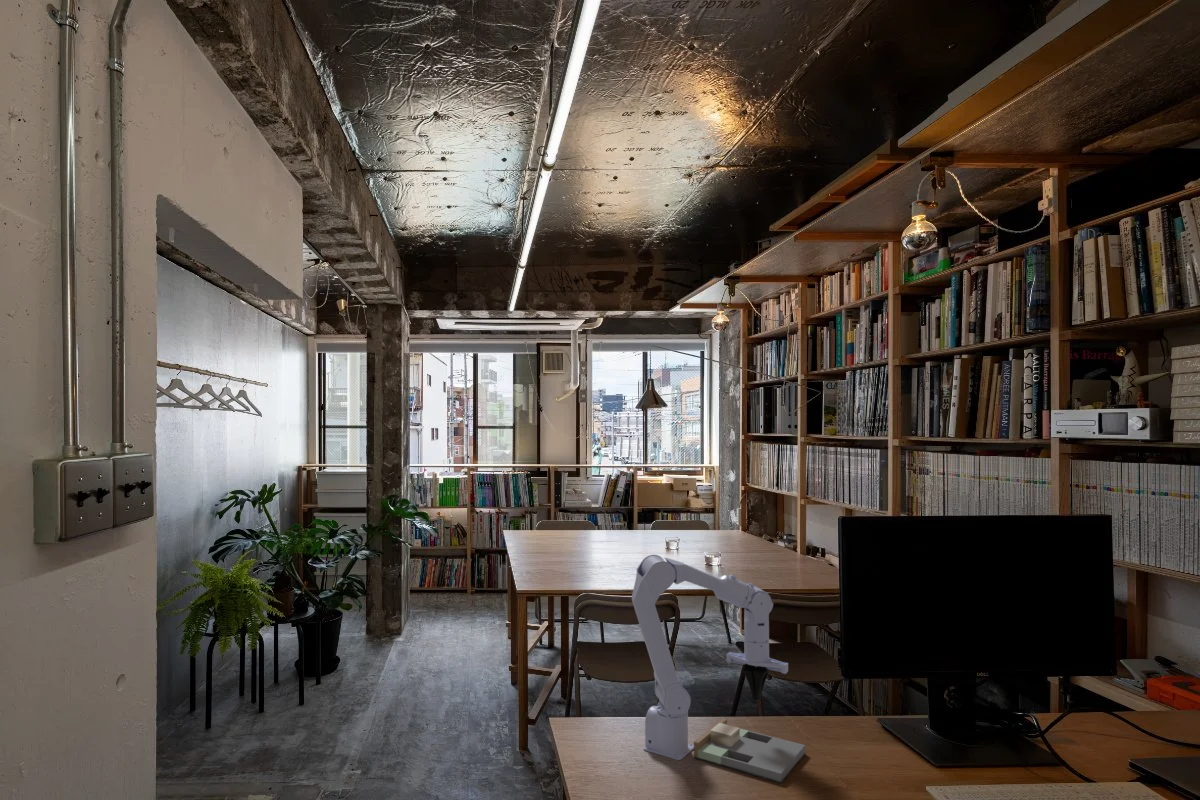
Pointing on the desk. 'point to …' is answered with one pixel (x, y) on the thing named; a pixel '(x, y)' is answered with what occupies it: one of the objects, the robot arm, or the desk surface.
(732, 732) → the cream block
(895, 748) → the desk surface
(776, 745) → the board
